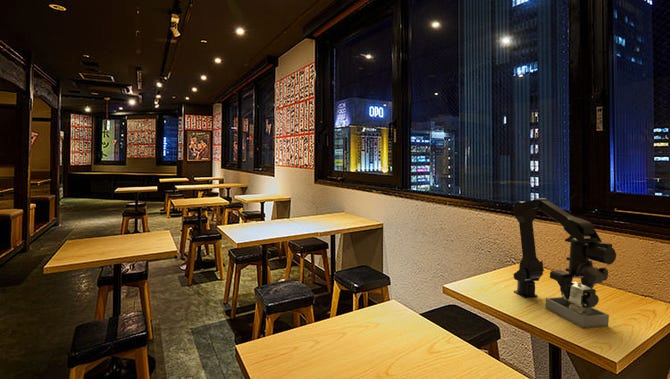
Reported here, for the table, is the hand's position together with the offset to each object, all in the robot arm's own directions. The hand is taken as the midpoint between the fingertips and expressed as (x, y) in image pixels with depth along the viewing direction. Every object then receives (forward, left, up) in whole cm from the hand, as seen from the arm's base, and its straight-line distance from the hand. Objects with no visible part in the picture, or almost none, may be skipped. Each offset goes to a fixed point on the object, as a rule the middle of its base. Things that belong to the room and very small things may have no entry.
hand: (576, 298), depth 123 cm
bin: (0, 0, -7) cm, 7 cm away
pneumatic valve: (0, +1, -6) cm, 6 cm away
